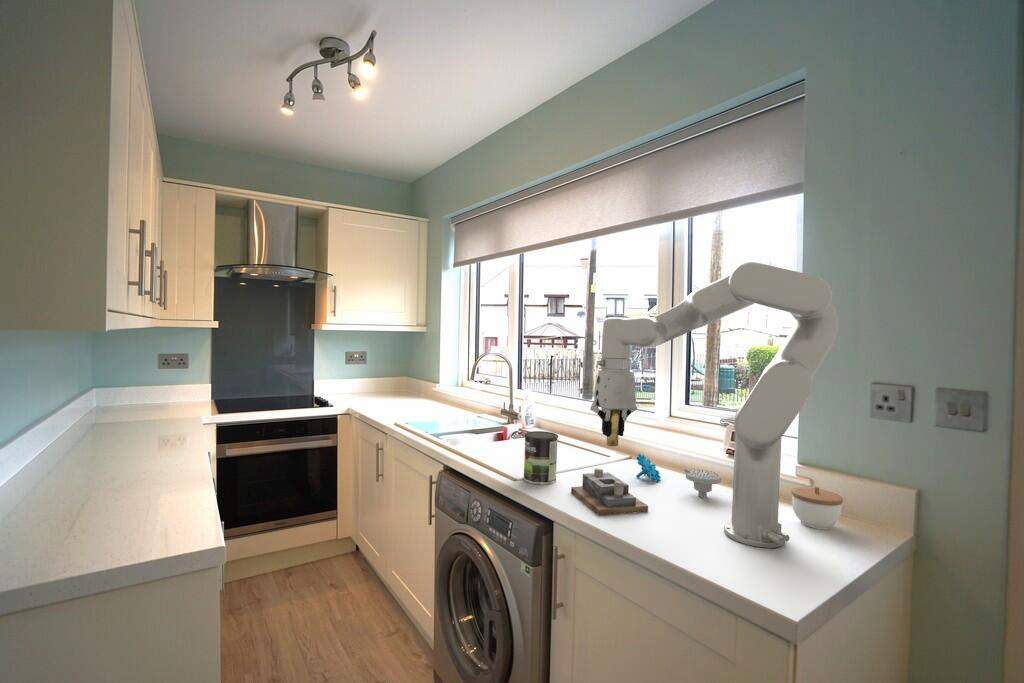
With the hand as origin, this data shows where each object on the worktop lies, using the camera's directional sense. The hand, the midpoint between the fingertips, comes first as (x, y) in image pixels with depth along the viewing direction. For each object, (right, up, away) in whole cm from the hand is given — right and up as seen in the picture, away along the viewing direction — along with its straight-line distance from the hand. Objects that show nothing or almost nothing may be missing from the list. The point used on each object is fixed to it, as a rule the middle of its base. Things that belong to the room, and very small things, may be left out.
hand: (612, 434), depth 128 cm
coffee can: (-18, -19, +24) cm, 35 cm away
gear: (+17, -20, +28) cm, 38 cm away
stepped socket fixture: (0, -19, +6) cm, 20 cm away
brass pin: (0, -3, 0) cm, 3 cm away
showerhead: (+28, -20, +13) cm, 37 cm away
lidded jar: (+49, -21, -7) cm, 54 cm away
